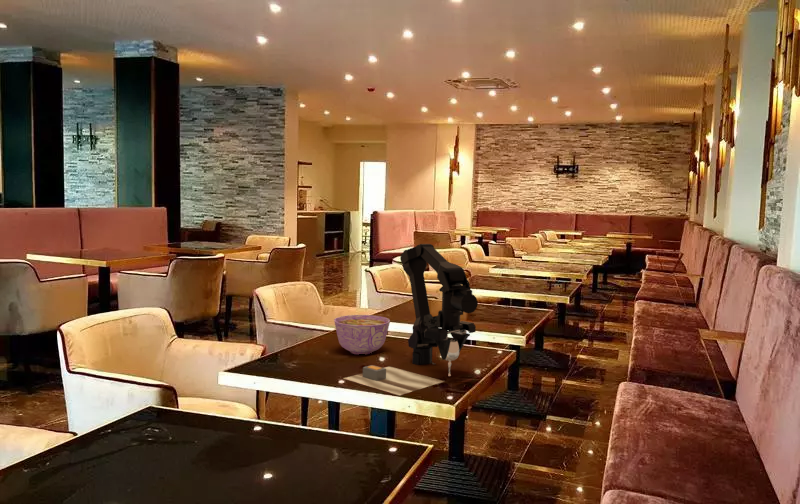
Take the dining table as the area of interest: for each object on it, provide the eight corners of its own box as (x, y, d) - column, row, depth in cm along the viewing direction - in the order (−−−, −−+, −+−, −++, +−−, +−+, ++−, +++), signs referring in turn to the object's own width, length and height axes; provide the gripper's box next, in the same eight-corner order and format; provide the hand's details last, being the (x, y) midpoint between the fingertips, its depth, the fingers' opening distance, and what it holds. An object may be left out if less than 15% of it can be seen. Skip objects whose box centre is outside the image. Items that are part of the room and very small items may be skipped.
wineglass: (457, 381, 199) (458, 342, 198) (438, 380, 200) (439, 341, 199) (459, 376, 204) (460, 338, 203) (441, 375, 206) (442, 337, 205)
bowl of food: (388, 359, 224) (389, 326, 223) (330, 358, 224) (330, 324, 223) (390, 346, 244) (390, 315, 243) (336, 344, 244) (337, 314, 243)
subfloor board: (388, 369, 211) (389, 366, 211) (444, 384, 196) (444, 381, 196) (343, 381, 197) (343, 378, 196) (399, 398, 181) (399, 395, 181)
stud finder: (372, 374, 201) (372, 364, 201) (386, 378, 197) (386, 368, 197) (362, 376, 198) (362, 366, 198) (376, 381, 194) (376, 370, 194)
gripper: (449, 301, 213) (448, 348, 214) (411, 307, 199) (410, 358, 200) (477, 305, 205) (475, 354, 206) (439, 312, 191) (438, 365, 193)
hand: (449, 357), depth 202 cm, fingers closed on wineglass, 6 cm apart
